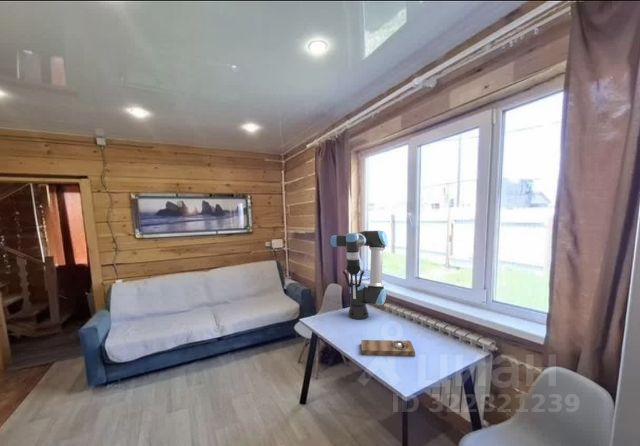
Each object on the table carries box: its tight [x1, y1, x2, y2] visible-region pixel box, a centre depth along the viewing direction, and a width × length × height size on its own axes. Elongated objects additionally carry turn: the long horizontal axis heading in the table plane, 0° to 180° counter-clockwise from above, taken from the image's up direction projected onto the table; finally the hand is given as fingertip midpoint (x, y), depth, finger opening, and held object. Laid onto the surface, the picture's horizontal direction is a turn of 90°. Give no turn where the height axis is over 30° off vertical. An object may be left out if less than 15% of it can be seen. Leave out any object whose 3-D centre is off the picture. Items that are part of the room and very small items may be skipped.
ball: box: [395, 343, 402, 348], centre depth 148 cm, size 4×4×4 cm
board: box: [360, 339, 416, 357], centre depth 149 cm, size 28×12×2 cm, turn 83°
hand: (354, 298), depth 160 cm, fingers closed
